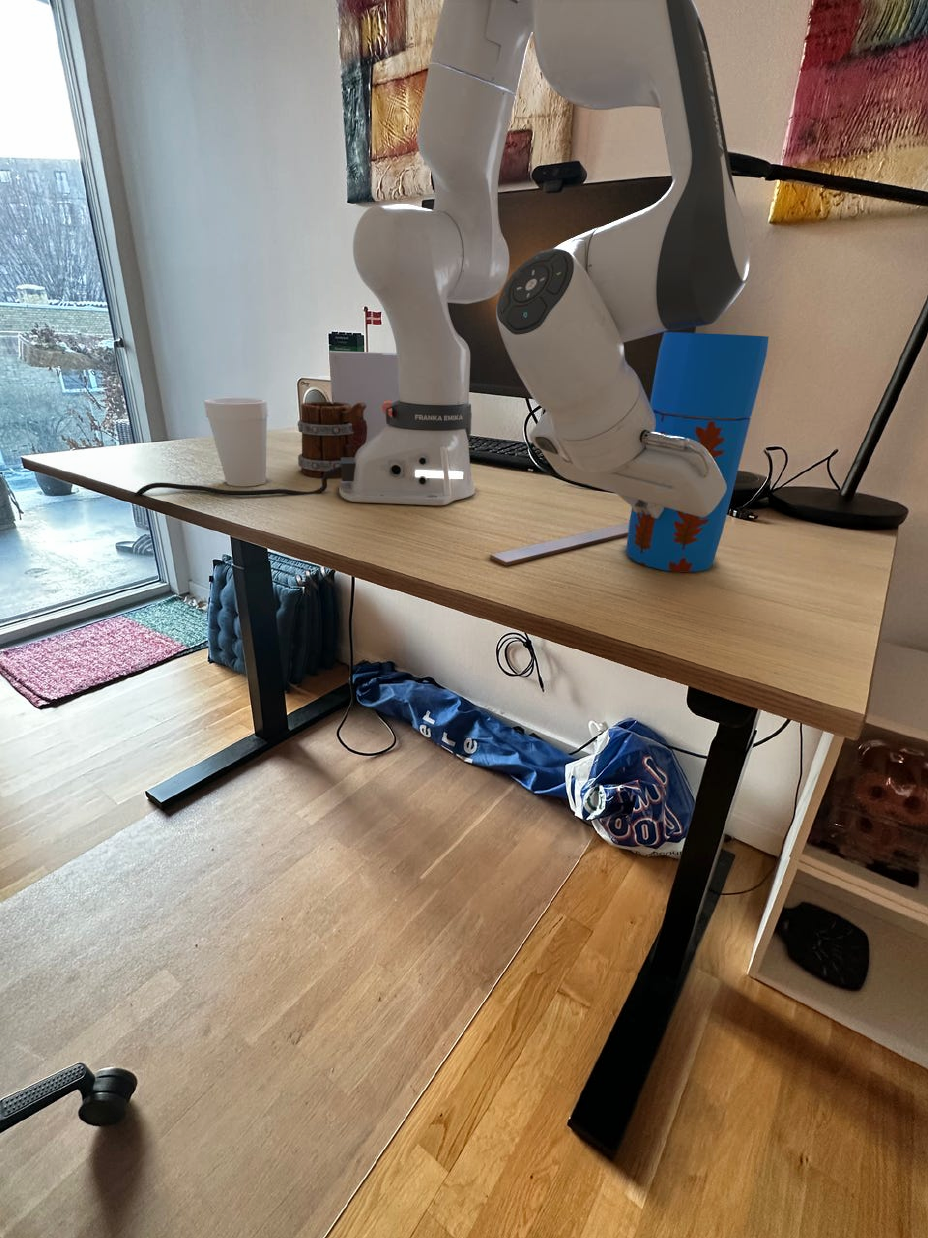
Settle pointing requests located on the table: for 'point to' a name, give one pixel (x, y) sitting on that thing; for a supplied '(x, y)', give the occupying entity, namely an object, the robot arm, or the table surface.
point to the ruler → (560, 545)
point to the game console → (365, 383)
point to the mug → (330, 435)
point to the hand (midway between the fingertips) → (650, 510)
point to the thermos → (699, 436)
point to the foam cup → (240, 438)
